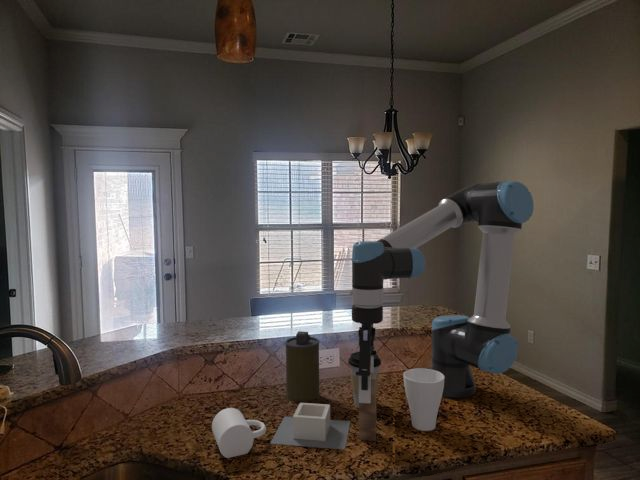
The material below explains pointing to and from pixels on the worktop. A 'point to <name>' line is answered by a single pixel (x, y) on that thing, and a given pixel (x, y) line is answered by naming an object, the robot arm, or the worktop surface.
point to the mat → (333, 440)
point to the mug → (235, 432)
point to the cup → (423, 396)
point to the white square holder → (311, 421)
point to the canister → (302, 367)
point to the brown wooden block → (368, 415)
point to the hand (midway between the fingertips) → (366, 390)
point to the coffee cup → (355, 378)
